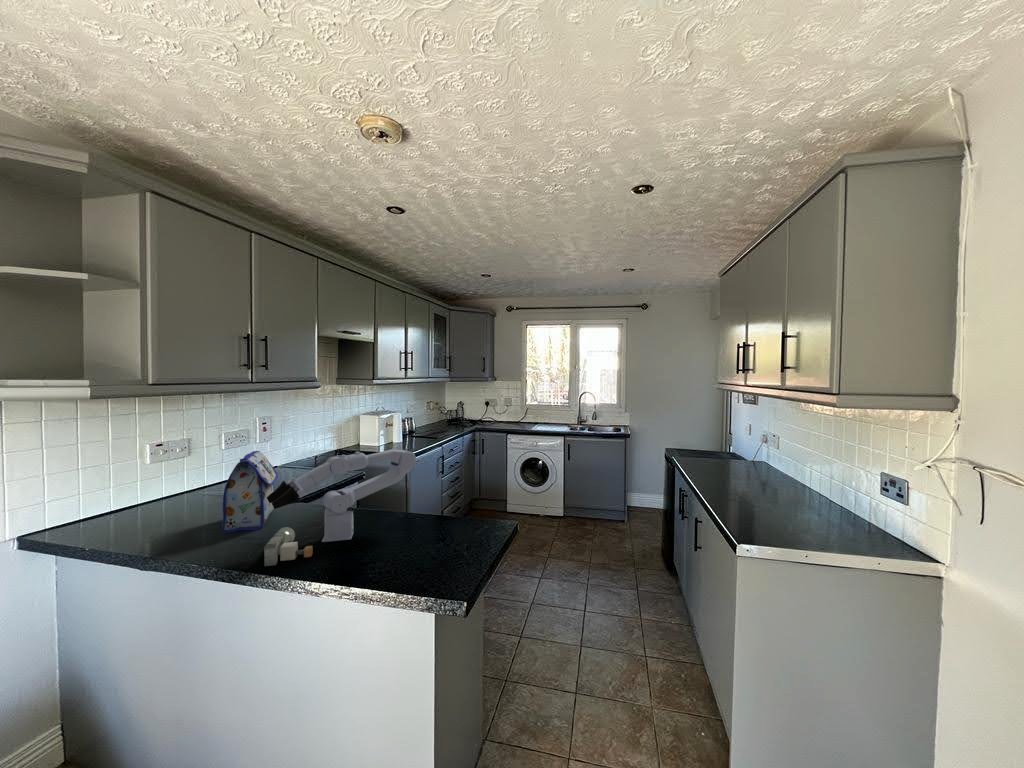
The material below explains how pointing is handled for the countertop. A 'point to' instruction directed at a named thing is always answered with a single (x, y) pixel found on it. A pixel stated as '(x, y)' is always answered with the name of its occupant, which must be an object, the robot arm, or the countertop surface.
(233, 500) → the lunch bag
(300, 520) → the countertop surface
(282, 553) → the plug
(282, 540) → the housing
